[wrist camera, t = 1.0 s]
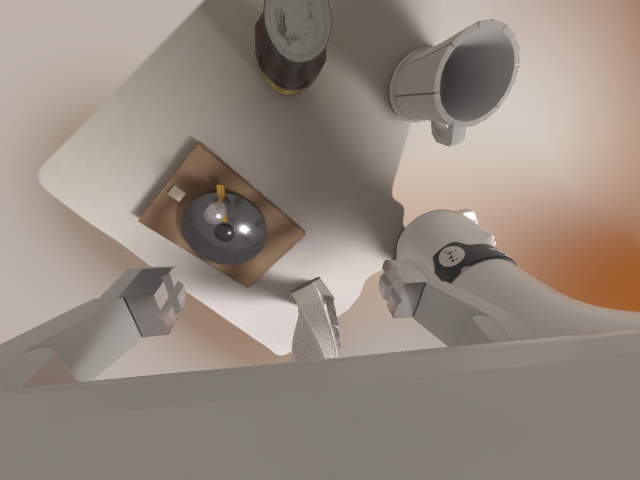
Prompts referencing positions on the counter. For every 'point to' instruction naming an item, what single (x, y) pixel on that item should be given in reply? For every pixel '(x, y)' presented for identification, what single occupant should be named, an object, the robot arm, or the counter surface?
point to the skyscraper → (314, 323)
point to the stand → (203, 177)
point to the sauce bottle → (292, 42)
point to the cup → (457, 80)
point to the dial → (224, 227)
